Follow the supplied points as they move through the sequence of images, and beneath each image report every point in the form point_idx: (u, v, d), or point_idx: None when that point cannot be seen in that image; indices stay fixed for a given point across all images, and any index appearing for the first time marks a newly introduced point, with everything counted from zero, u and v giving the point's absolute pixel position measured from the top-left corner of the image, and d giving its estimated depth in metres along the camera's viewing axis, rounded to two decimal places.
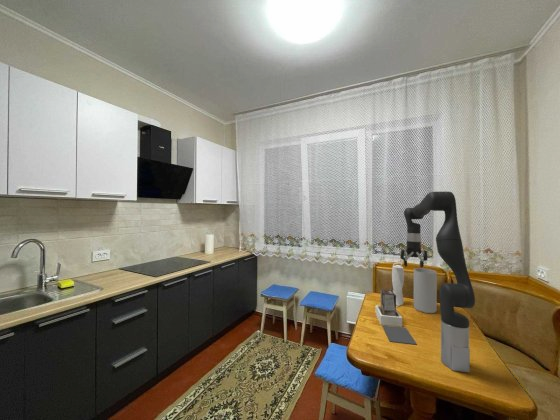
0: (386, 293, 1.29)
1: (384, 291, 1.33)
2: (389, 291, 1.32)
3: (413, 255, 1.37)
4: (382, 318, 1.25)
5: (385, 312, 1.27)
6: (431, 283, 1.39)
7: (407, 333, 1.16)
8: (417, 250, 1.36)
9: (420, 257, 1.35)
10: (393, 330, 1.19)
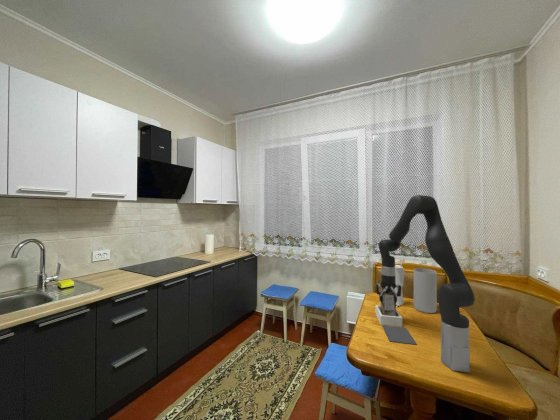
0: (386, 293, 1.29)
1: None
2: None
3: (387, 289, 1.30)
4: (382, 318, 1.25)
5: (385, 312, 1.27)
6: (431, 283, 1.39)
7: (407, 333, 1.16)
8: (391, 284, 1.30)
9: (394, 292, 1.29)
10: (393, 330, 1.19)
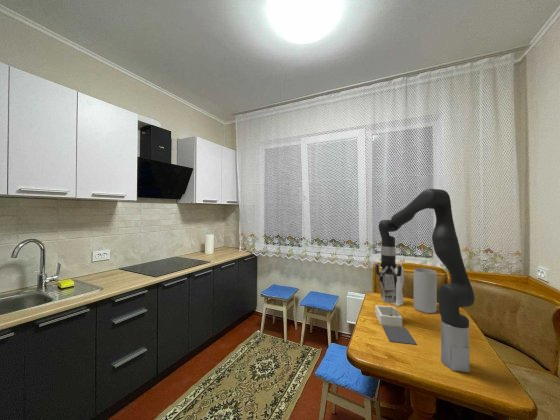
0: (386, 273, 1.29)
1: None
2: None
3: (387, 269, 1.30)
4: (382, 318, 1.25)
5: (385, 292, 1.27)
6: (431, 283, 1.39)
7: (407, 333, 1.16)
8: (392, 264, 1.30)
9: (394, 272, 1.29)
10: (393, 330, 1.19)
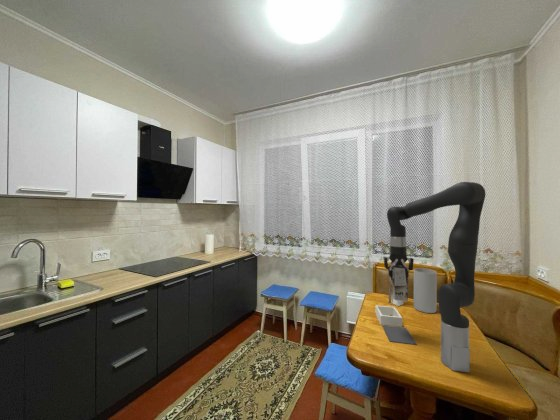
0: (396, 267, 1.14)
1: None
2: (399, 265, 1.17)
3: (398, 263, 1.15)
4: (382, 318, 1.25)
5: (395, 288, 1.12)
6: (431, 283, 1.39)
7: (407, 333, 1.16)
8: (402, 257, 1.15)
9: (405, 266, 1.14)
10: (393, 330, 1.19)
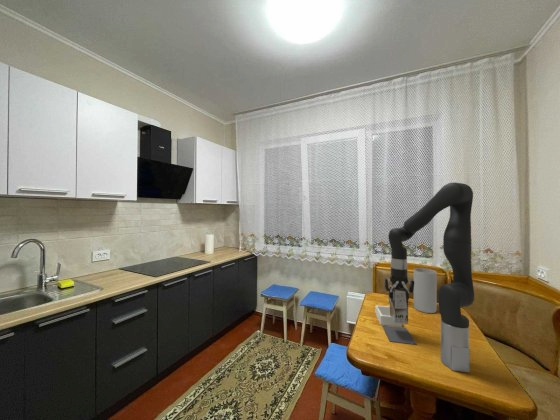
0: (397, 289, 1.14)
1: None
2: (400, 287, 1.17)
3: (398, 285, 1.14)
4: (382, 318, 1.25)
5: (396, 310, 1.11)
6: (431, 283, 1.39)
7: (407, 333, 1.16)
8: (403, 279, 1.14)
9: (405, 288, 1.13)
10: (393, 330, 1.19)
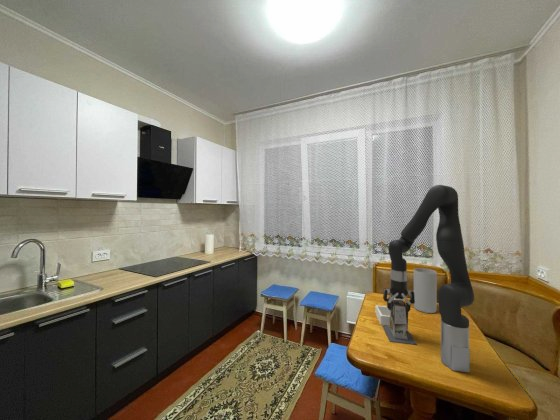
0: (396, 304, 1.14)
1: (394, 301, 1.17)
2: (400, 301, 1.16)
3: (398, 296, 1.14)
4: (382, 318, 1.25)
5: (395, 326, 1.11)
6: (431, 283, 1.39)
7: None
8: (403, 291, 1.14)
9: (406, 299, 1.13)
10: None
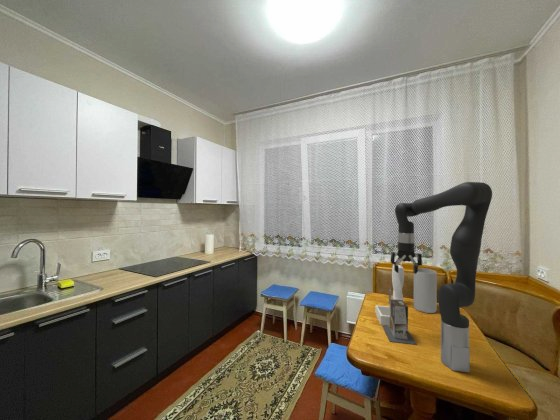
0: (396, 304, 1.14)
1: (394, 301, 1.17)
2: (400, 301, 1.16)
3: (405, 259, 1.16)
4: (382, 318, 1.25)
5: (395, 326, 1.11)
6: (431, 283, 1.39)
7: None
8: (410, 253, 1.15)
9: (413, 261, 1.14)
10: None
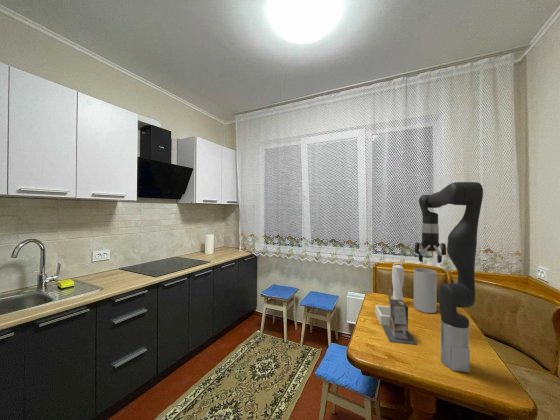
0: (396, 304, 1.14)
1: (394, 301, 1.17)
2: (400, 301, 1.16)
3: (430, 249, 1.20)
4: (382, 318, 1.25)
5: (395, 326, 1.11)
6: (431, 283, 1.39)
7: None
8: (434, 243, 1.19)
9: (438, 251, 1.18)
10: None
